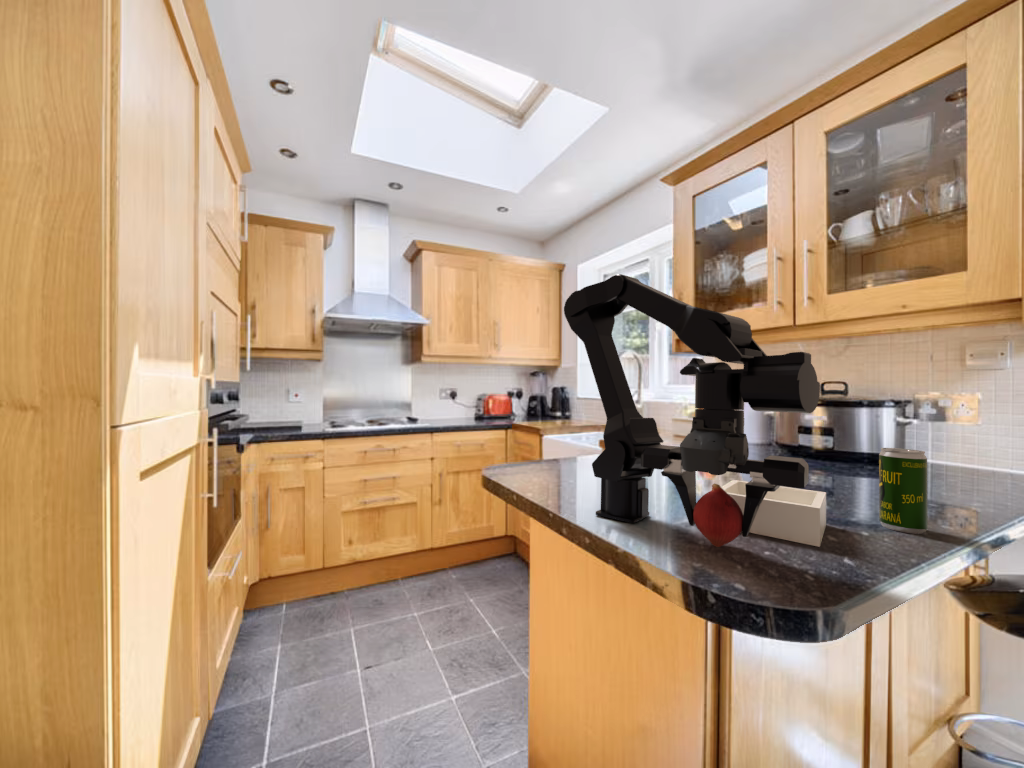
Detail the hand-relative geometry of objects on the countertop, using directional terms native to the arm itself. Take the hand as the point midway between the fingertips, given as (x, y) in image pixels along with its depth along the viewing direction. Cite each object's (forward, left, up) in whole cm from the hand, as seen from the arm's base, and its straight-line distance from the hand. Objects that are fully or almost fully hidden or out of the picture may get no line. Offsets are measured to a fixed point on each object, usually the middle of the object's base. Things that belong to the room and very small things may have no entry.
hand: (717, 530), depth 53 cm
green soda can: (+19, +29, -2) cm, 35 cm away
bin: (+4, +16, -2) cm, 16 cm away
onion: (0, 0, -2) cm, 2 cm away
